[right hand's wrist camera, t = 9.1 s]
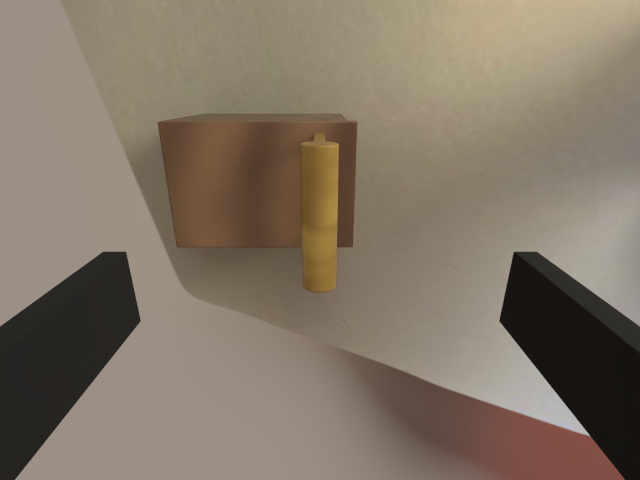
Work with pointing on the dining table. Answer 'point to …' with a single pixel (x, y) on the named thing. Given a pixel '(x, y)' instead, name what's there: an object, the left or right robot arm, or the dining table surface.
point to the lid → (264, 187)
